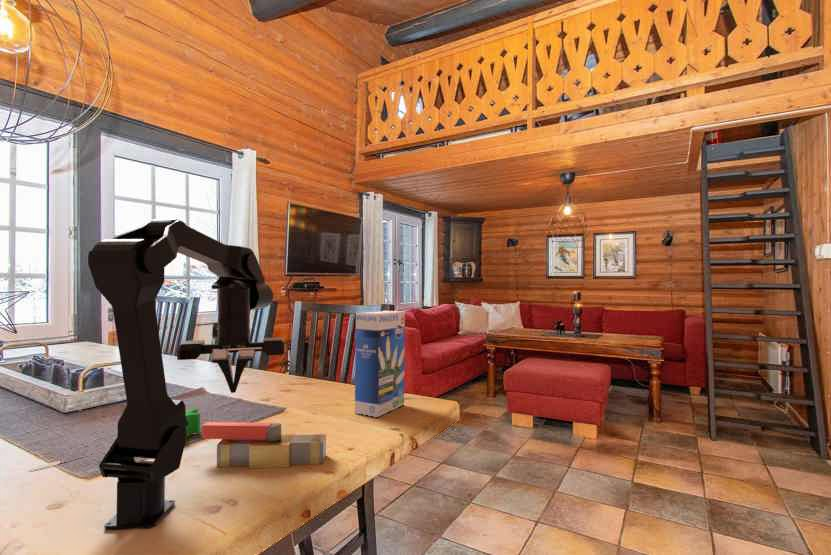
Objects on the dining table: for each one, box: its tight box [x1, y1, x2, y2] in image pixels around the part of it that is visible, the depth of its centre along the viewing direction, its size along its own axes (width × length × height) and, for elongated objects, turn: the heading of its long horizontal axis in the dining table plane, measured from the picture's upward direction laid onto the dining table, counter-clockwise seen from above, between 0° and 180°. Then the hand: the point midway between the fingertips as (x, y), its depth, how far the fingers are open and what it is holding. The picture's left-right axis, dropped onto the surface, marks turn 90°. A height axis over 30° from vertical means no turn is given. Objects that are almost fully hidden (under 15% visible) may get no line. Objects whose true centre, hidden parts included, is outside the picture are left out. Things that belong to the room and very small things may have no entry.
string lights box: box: [354, 310, 406, 418], centre depth 113 cm, size 13×8×26 cm, turn 150°
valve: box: [216, 432, 327, 469], centre depth 80 cm, size 6×19×4 cm, turn 95°
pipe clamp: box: [186, 408, 201, 441], centre depth 92 cm, size 11×4×5 cm, turn 173°
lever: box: [201, 421, 282, 441], centre depth 80 cm, size 14×3×3 cm, turn 90°
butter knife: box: [28, 460, 63, 472], centre depth 86 cm, size 1×27×3 cm
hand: (233, 392), depth 83 cm, fingers closed
